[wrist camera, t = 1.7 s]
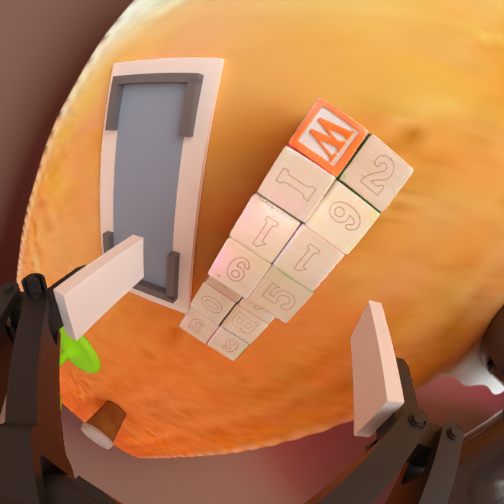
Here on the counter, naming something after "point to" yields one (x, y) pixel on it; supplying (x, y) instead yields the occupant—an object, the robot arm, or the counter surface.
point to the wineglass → (78, 354)
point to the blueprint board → (158, 166)
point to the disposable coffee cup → (104, 424)
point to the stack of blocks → (295, 228)
